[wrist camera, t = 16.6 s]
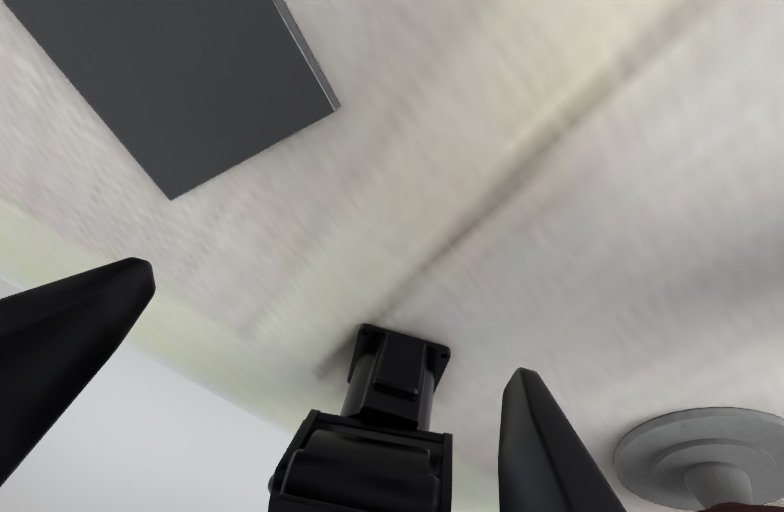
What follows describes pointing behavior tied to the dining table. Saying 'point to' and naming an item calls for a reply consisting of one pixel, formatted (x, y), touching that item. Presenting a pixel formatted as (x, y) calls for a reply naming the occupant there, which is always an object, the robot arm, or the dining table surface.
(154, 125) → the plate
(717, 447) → the mate gourd
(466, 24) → the dining table surface
